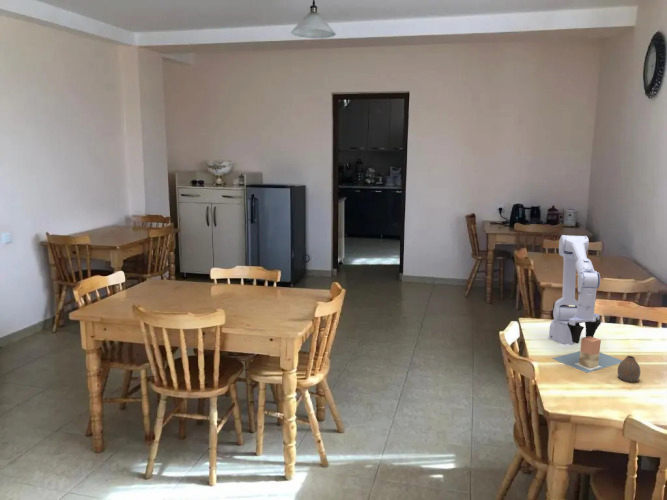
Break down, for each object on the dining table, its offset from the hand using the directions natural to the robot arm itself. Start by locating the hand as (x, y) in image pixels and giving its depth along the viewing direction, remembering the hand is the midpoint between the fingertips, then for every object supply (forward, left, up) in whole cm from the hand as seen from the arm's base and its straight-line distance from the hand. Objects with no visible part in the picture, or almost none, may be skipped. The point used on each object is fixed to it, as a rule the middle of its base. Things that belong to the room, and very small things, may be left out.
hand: (582, 340), depth 206 cm
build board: (0, +5, -9) cm, 10 cm away
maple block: (+4, 0, -8) cm, 9 cm away
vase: (+18, +2, -9) cm, 20 cm away
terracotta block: (+4, 0, -3) cm, 5 cm away
